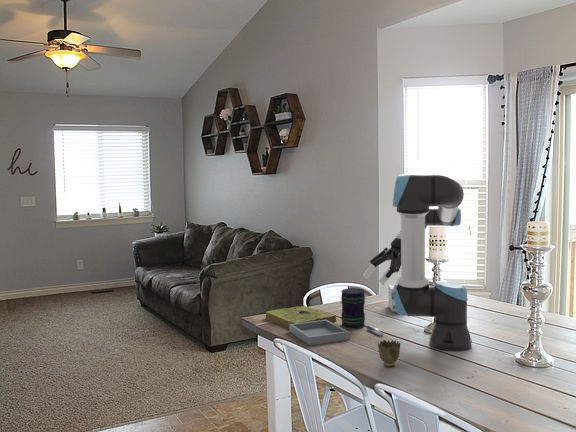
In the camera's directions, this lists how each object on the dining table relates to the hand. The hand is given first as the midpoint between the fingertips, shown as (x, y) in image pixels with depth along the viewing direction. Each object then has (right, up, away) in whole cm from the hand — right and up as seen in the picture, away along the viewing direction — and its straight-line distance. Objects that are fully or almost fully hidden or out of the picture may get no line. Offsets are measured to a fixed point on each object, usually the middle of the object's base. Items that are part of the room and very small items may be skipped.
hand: (372, 279), depth 250 cm
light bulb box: (+15, -17, +24) cm, 33 cm away
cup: (-2, -23, -53) cm, 58 cm away
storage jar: (-9, -19, -3) cm, 21 cm away
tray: (-24, -20, -16) cm, 36 cm away
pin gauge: (-1, -20, -13) cm, 24 cm away
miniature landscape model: (-31, -19, +8) cm, 37 cm away
